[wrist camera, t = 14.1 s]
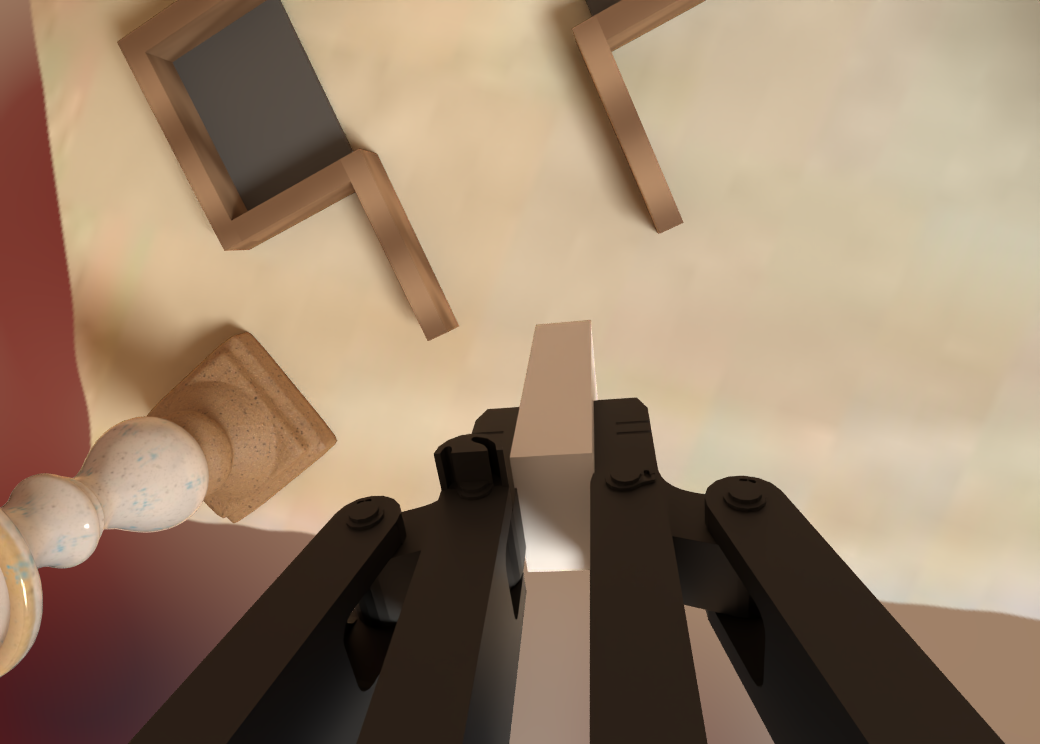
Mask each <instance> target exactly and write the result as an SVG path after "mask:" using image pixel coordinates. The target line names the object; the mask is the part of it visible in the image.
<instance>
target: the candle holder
mask: <svg viewBox="0 0 1040 744" xmlns="http://www.w3.org/2000/svg"><path fill="white" fill-rule="evenodd" d="M336 441H337V440H336V437H335V435H334V434H333V433H332V431H331V430H330V429H329V427H328V426H327V425H326V423H325V422H324V421H323V419H322V418H321V417H320V416H319V414H318V413H317V412H316V411H315V410H314V408H313V407H312V406H311V405H310V404H309V402H308V401H307V400H306V399H305V397H304V396H303V395H302V394H301V393H300V391H299V390H298V389H297V388H296V387H295V385H294V384H293V383H292V382H291V380H290V379H289V378H288V377H287V376H286V374H285V373H284V372H283V371H282V369H281V368H280V367H279V366H278V365H277V363H276V362H275V361H274V360H273V359H272V357H271V356H270V355H269V354H268V352H267V351H266V350H265V349H264V348H263V347H262V345H261V344H260V343H259V342H258V341H257V340H256V339H255V338H254V337H253V336H252V335H251V334H250V333H248V332H246V333H242V334H239V335H235V336H232V337H231V338H229V339H228V340H227V341H225V342H224V343H223V344H222V345H220V346H219V347H218V348H217V349H215V350H214V351H213V352H212V353H211V354H210V355H209V356H208V357H207V358H206V359H205V360H204V361H203V362H202V363H201V364H199V365H198V366H197V367H196V368H195V369H194V370H193V371H192V372H191V373H190V374H189V375H188V376H187V377H186V378H185V379H183V380H182V381H181V382H180V383H179V384H178V385H177V386H176V387H175V388H174V389H173V390H172V391H171V392H170V393H168V394H167V395H166V396H165V397H164V398H163V399H162V400H161V401H160V402H159V403H158V404H157V405H156V406H155V407H154V408H153V409H152V410H151V412H150V413H149V414H148V415H147V417H146V416H144V417H136V418H132V419H128V420H125V421H122V422H120V423H118V424H116V425H115V426H113V427H111V428H110V429H109V430H107V431H106V432H105V433H104V434H103V435H102V436H101V437H100V438H99V439H98V440H97V441H96V442H95V444H94V445H93V447H92V448H91V450H90V452H89V453H88V455H87V457H86V459H85V461H84V464H83V466H82V468H81V470H80V471H79V473H78V474H77V475H76V476H75V477H74V478H69V477H62V476H59V475H55V474H38V475H34V476H31V477H29V478H26V479H25V480H23V481H22V482H20V483H19V484H18V485H17V486H16V487H15V489H14V490H13V491H12V493H11V495H10V498H9V500H8V502H7V503H6V504H5V505H4V506H2V507H1V508H0V677H1V676H2V675H4V674H5V673H7V672H8V671H10V670H11V669H13V668H14V667H15V666H16V665H17V664H18V663H19V662H20V661H21V660H22V659H23V658H24V657H25V655H26V654H27V653H28V651H29V650H30V648H31V646H32V645H33V643H34V641H35V639H36V636H37V633H38V631H39V628H40V622H41V617H42V611H43V606H42V605H43V595H42V588H41V580H40V576H39V573H38V569H37V568H40V567H46V566H49V567H53V568H69V567H73V566H76V565H78V564H80V563H82V562H83V561H85V560H86V559H88V558H89V557H90V556H91V554H92V553H93V552H94V550H95V548H96V547H97V544H98V541H99V538H100V536H101V535H102V531H103V530H104V529H120V530H125V531H134V532H157V531H162V530H166V529H169V528H172V527H174V526H176V525H179V524H180V523H182V522H184V521H185V520H187V519H188V518H190V517H191V516H192V515H193V514H194V513H195V512H196V511H197V510H198V508H199V507H200V505H201V504H202V502H203V501H204V502H205V503H206V504H207V505H208V506H209V507H210V508H211V509H212V510H213V511H214V512H215V513H216V514H217V515H219V516H220V517H222V518H225V517H227V518H228V519H229V520H230V521H232V522H233V523H236V522H238V521H240V520H241V519H243V518H244V517H246V516H247V515H249V514H250V513H251V512H253V511H254V510H256V509H257V508H258V507H260V506H261V505H262V504H264V503H265V502H266V501H267V500H269V499H270V498H271V497H272V496H274V495H275V494H276V493H277V492H278V491H280V490H281V489H282V488H283V487H285V486H286V485H287V484H288V483H289V482H291V481H292V480H293V479H294V478H296V477H297V476H298V475H299V474H301V473H302V472H303V471H304V470H305V469H307V468H308V467H309V466H310V465H312V464H313V463H314V462H315V461H317V460H318V459H319V458H320V457H321V456H323V455H324V454H325V453H326V452H327V451H328V450H329V449H330V448H331V447H333V446H334V445H335V443H336Z"/></svg>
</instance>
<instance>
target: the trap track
mask: <svg viewBox="0 0 1040 744" xmlns="http://www.w3.org/2000/svg"><path fill="white" fill-rule="evenodd" d="M704 1H705V0H586V2H587V5H588V7H589V10H590V12H591V14H592V17H591V18H589V19H587V20H586V21H584V22H582V23H580V24H579V25H577V26H575V27H573V28H572V30H573V33H574V36H575V39H576V43H577V45H578V47H579V50H580V52H581V54H582V57H583V59H584V61H585V64H586V66H587V68H588V71H589V73H590V75H591V78H592V80H593V82H594V85H595V87H596V89H597V92H598V94H599V96H600V99H601V101H602V103H603V106H604V108H605V110H606V113H607V115H608V117H609V120H610V122H611V124H612V127H613V129H614V131H615V134H616V136H617V138H618V141H619V143H620V145H621V148H622V150H623V152H624V155H625V157H626V159H627V162H628V164H629V166H630V169H631V171H632V173H633V176H634V178H635V180H636V183H637V185H638V187H639V190H640V192H641V194H642V197H643V199H644V201H645V204H646V206H647V208H648V211H649V213H650V215H651V218H652V220H653V222H654V225H655V227H656V229H657V232H658V234H659V233H662V232H664V231H666V230H669V229H671V228H673V227H675V226H677V225H679V224H681V223H683V220H682V218H681V216H680V213H679V211H678V208H677V206H676V204H675V201H674V199H673V197H672V194H671V192H670V190H669V187H668V185H667V182H666V180H665V178H664V175H663V173H662V171H661V168H660V166H659V164H658V161H657V159H656V156H655V154H654V152H653V149H652V147H651V145H650V142H649V140H648V138H647V135H646V133H645V130H644V128H643V126H642V123H641V121H640V119H639V116H638V114H637V112H636V109H635V107H634V104H633V102H632V100H631V97H630V95H629V93H628V90H627V88H626V86H625V83H624V81H623V78H622V76H621V74H620V71H619V69H618V67H617V64H616V62H615V60H614V57H613V55H612V51H614V50H616V49H618V48H619V47H621V46H623V45H625V44H627V43H629V42H630V41H632V40H634V39H636V38H638V37H640V36H641V35H643V34H645V33H647V32H649V31H651V30H652V29H654V28H656V27H658V26H660V25H662V24H663V23H665V22H667V21H669V20H671V19H673V18H674V17H676V16H678V15H680V14H682V13H684V12H685V11H687V10H689V9H691V8H693V7H694V6H696V5H698V4H700V3H702V2H704ZM117 43H118V45H119V47H120V49H121V51H122V53H123V54H124V56H125V58H126V60H127V62H128V64H129V66H130V68H131V70H132V72H133V74H134V76H135V78H136V80H137V82H138V84H139V86H140V88H141V89H142V91H143V93H144V95H145V97H146V99H147V101H148V103H149V105H150V107H151V109H152V111H153V113H154V115H155V117H156V119H157V121H158V123H159V124H160V126H161V128H162V130H163V132H164V134H165V136H166V138H167V140H168V142H169V144H170V146H171V148H172V150H173V152H174V154H175V156H176V158H177V160H178V161H179V163H180V165H181V167H182V169H183V171H184V173H185V175H186V177H187V179H188V181H189V183H190V185H191V187H192V189H193V191H194V193H195V195H196V196H197V198H198V200H199V202H200V204H201V206H202V208H203V210H204V212H205V214H206V216H207V218H208V220H209V222H210V224H211V226H212V228H213V230H214V231H215V233H216V235H217V237H218V239H219V241H220V243H221V245H222V247H223V249H224V251H228V250H250V249H252V248H253V247H255V246H257V245H259V244H261V243H263V242H264V241H266V240H268V239H270V238H272V237H274V236H275V235H277V234H279V233H281V232H283V231H285V230H286V229H288V228H290V227H292V226H294V225H296V224H297V223H299V222H301V221H303V220H305V219H307V218H308V217H310V216H312V215H314V214H316V213H318V212H319V211H321V210H323V209H325V208H327V207H329V206H330V205H332V204H334V203H336V202H338V201H340V200H341V199H343V198H345V197H347V196H349V195H350V194H352V193H354V192H356V193H357V196H358V198H359V200H360V202H361V204H362V206H363V208H364V210H365V212H366V214H367V216H368V218H369V220H370V222H371V224H372V227H373V229H374V231H375V233H376V235H377V237H378V239H379V241H380V243H381V245H382V247H383V249H384V251H385V253H386V256H387V258H388V260H389V262H390V264H391V266H392V268H393V270H394V272H395V274H396V276H397V278H398V280H399V282H400V285H401V287H402V289H403V291H404V293H405V295H406V297H407V299H408V301H409V303H410V305H411V307H412V309H413V311H414V313H415V316H416V318H417V320H418V322H419V324H420V326H421V328H422V330H423V332H424V334H425V336H426V338H427V340H428V341H429V340H432V339H434V338H436V337H438V336H440V335H442V334H444V333H447V332H449V331H451V330H453V329H454V328H456V327H458V326H459V325H458V323H457V321H456V319H455V316H454V314H453V312H452V310H451V308H450V306H449V304H448V302H447V300H446V298H445V295H444V293H443V291H442V289H441V287H440V285H439V283H438V281H437V279H436V277H435V274H434V272H433V270H432V268H431V266H430V264H429V262H428V260H427V258H426V255H425V253H424V251H423V249H422V247H421V245H420V243H419V241H418V239H417V237H416V234H415V232H414V230H413V228H412V226H411V224H410V222H409V220H408V218H407V216H406V213H405V211H404V209H403V207H402V205H401V203H400V201H399V199H398V197H397V195H396V192H395V190H394V188H393V186H392V184H391V182H390V180H389V178H388V176H387V173H386V171H385V169H384V167H383V165H382V163H381V161H380V159H379V157H378V155H377V154H375V153H372V152H369V151H366V150H363V149H360V148H359V149H357V150H356V151H354V152H353V150H352V148H351V146H350V144H349V142H348V140H347V138H346V136H345V134H344V132H343V130H342V128H341V125H340V123H339V121H338V119H337V117H336V115H335V113H334V111H333V109H332V107H331V105H330V103H329V100H328V98H327V96H326V94H325V92H324V90H323V88H322V86H321V84H320V82H319V80H318V78H317V75H316V73H315V71H314V69H313V67H312V65H311V63H310V61H309V59H308V57H307V55H306V53H305V50H304V48H303V46H302V44H301V42H300V40H299V38H298V36H297V34H296V32H295V30H294V28H293V25H292V23H291V21H290V19H289V17H288V15H287V13H286V11H285V9H284V7H283V5H282V3H281V0H177V1H176V2H174V3H173V4H171V5H170V6H169V7H167V8H166V9H164V10H163V11H161V12H160V13H158V14H157V15H155V16H154V17H153V18H151V19H150V20H148V21H147V22H145V23H144V24H142V25H141V26H139V27H138V28H137V29H135V30H134V31H132V32H131V33H129V34H128V35H126V36H125V37H123V38H122V39H121V40H119V41H118V42H117Z"/></svg>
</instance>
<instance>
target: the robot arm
mask: <svg viewBox="0 0 1040 744" xmlns="http://www.w3.org/2000/svg"><path fill="white" fill-rule="evenodd" d="M434 458H435V462H436V467H437V472H438V476H439V481H440V485H441V493H440V496H439V499H438V501H436V502H434V503H432V504H429V505H426V506H423V507H419V508H416V509H412V510H408V511H404V512H401V508H400V505H399V504H398V503H397V502H396V501H395V500H394V499H392V498H389V497H385V496H370V497H365V498H361V499H358V500H356V501H354V502H352V503H350V504H348V505H346V506H344V507H343V508H342V509H341V510H339V511H338V512H337V513H336V514H335V515H334V516H333V517H332V518H331V519H330V520H329V521H328V523H327V524H326V525H325V526H324V527H323V528H322V529H321V530H320V531H319V533H318V534H317V535H316V536H315V537H314V538H313V539H312V540H311V541H310V543H309V544H308V545H307V546H306V547H305V548H304V549H303V550H302V552H301V553H300V554H299V555H298V556H297V557H296V558H295V559H294V560H293V561H292V562H291V564H290V565H289V566H288V567H287V568H286V569H285V570H284V571H283V573H282V574H281V575H280V576H279V577H278V578H277V579H276V580H275V581H274V583H273V584H272V585H271V586H270V587H269V588H268V589H267V590H266V591H265V592H264V593H263V595H262V596H261V597H260V598H259V599H258V600H257V601H256V602H255V603H254V605H253V606H252V607H251V608H250V609H249V610H248V611H247V612H246V613H245V615H244V616H243V617H242V618H241V619H240V620H239V621H238V622H237V623H236V625H235V626H234V627H233V628H232V629H231V630H230V631H229V632H228V633H227V634H226V636H225V637H224V638H223V639H222V640H221V641H220V642H219V643H218V644H217V646H216V647H215V648H214V649H213V650H212V651H211V652H210V653H209V654H208V656H207V657H206V658H205V659H204V660H203V661H202V662H201V663H200V664H199V666H198V667H197V668H196V669H195V670H194V671H193V672H192V673H191V674H190V675H189V677H188V678H187V679H186V680H185V681H184V682H183V683H182V685H180V687H179V688H178V689H177V690H176V691H175V692H174V693H173V694H172V695H171V697H170V698H169V699H168V700H167V701H166V702H165V703H164V704H163V705H162V707H161V708H160V709H159V710H158V711H157V712H156V713H155V714H154V715H153V717H152V718H151V719H150V720H149V721H148V722H147V723H146V724H145V725H144V726H143V728H142V729H141V730H140V731H139V732H138V733H137V734H136V735H135V736H134V737H133V739H132V740H131V741H130V742H129V743H128V744H509V740H510V731H511V722H512V713H513V705H514V696H515V687H516V679H517V669H518V661H519V652H520V643H521V634H522V625H523V617H524V608H525V599H526V586H525V580H524V573H523V569H524V561H525V556H526V562H527V569H528V572H542V571H574V570H590V744H707V738H706V732H705V726H704V720H703V715H702V709H701V703H700V697H699V691H698V685H697V679H696V673H695V668H694V662H693V656H692V650H691V644H690V638H689V633H688V627H687V620H686V615H685V609H684V605H688V606H692V607H697V608H701V609H705V610H706V613H707V617H708V620H709V622H710V624H711V626H712V628H713V629H714V631H715V633H716V635H717V637H718V639H719V641H720V642H721V644H722V646H723V648H724V650H725V652H726V654H727V656H728V657H729V659H730V661H731V663H732V665H733V667H734V669H735V670H736V672H737V674H738V676H739V678H740V680H741V682H742V684H743V685H744V687H745V689H746V691H747V693H748V695H749V697H750V698H751V700H752V702H753V704H754V706H755V708H756V710H757V712H758V713H759V715H760V717H761V719H762V721H763V723H764V725H765V726H766V728H767V730H768V732H769V734H770V736H771V738H772V740H773V741H774V743H775V744H1005V743H1004V742H1003V741H1002V740H1001V739H1000V737H999V736H998V735H997V734H996V733H995V732H994V731H993V730H992V729H991V727H990V726H989V725H988V724H987V723H986V722H985V720H984V719H983V718H982V717H981V716H980V715H979V714H978V713H977V712H976V710H975V709H974V708H973V707H972V706H971V705H970V703H969V702H968V701H967V700H966V699H965V698H964V697H963V696H962V695H961V693H960V692H959V691H958V690H957V689H956V688H955V687H954V685H953V684H952V683H951V682H950V681H949V680H948V679H947V677H946V676H945V675H944V674H943V673H942V672H941V671H940V670H939V668H938V667H937V666H936V665H935V664H934V663H933V662H932V661H931V659H930V658H929V657H928V656H927V655H926V654H925V653H924V651H923V650H922V649H921V648H920V647H919V646H918V645H917V644H916V642H915V641H914V640H913V639H912V638H911V637H910V636H909V634H908V633H907V632H906V631H905V630H904V629H903V628H902V627H901V625H900V624H899V623H898V622H897V621H896V620H895V619H894V617H893V616H892V615H891V614H890V613H889V612H888V611H887V610H886V608H885V607H884V606H883V605H882V604H881V603H880V602H879V600H878V599H877V598H876V597H875V596H874V595H873V594H872V593H871V591H870V590H869V589H868V588H867V587H866V586H865V585H864V584H863V582H862V581H861V580H860V579H859V578H858V577H857V576H856V574H855V573H854V572H853V571H852V570H851V569H850V568H849V567H848V565H847V564H846V563H845V562H844V561H843V560H842V559H841V557H840V556H839V555H838V554H837V553H836V552H835V551H834V550H833V548H832V547H831V546H830V545H829V544H828V543H827V542H826V541H825V539H824V538H823V537H822V536H821V535H820V534H819V533H818V531H817V530H816V529H815V528H814V527H813V526H812V525H811V524H810V522H809V521H808V520H807V519H806V518H805V517H804V516H803V514H802V513H801V512H800V511H799V510H798V509H797V508H796V507H795V505H794V504H793V503H792V502H791V501H790V500H789V499H788V498H787V496H786V495H785V494H784V493H783V492H782V491H781V490H780V489H779V488H777V487H776V486H775V485H773V484H772V483H770V482H767V481H765V480H762V479H760V478H755V477H748V476H732V477H726V478H723V479H720V480H717V481H715V482H714V483H713V484H712V485H710V486H709V487H708V488H707V491H706V494H700V493H693V492H689V491H685V490H681V489H679V488H676V487H674V486H672V485H671V484H669V483H668V482H666V481H665V480H664V479H663V478H662V477H661V475H660V473H659V471H658V467H657V461H656V455H655V449H654V443H653V437H652V433H651V426H650V420H649V414H648V408H647V407H646V406H645V405H644V404H643V403H642V402H641V401H640V400H639V399H638V398H623V399H608V400H598V396H597V385H596V373H595V362H594V350H593V339H592V328H591V320H585V321H574V322H562V323H550V324H539V325H536V327H535V332H534V337H533V342H532V347H531V352H530V357H529V363H528V368H527V373H526V378H525V383H524V388H523V393H522V398H521V403H520V407H514V408H499V409H487V410H486V411H485V412H484V413H483V414H482V415H481V416H480V417H479V418H478V419H477V420H476V422H475V425H474V428H473V431H472V434H467V435H461V436H458V437H455V438H453V439H450V440H448V441H446V442H445V443H443V444H442V445H441V446H439V447H438V449H437V450H436V451H435V453H434ZM354 608H355V609H354ZM352 611H353V612H352Z"/></svg>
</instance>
